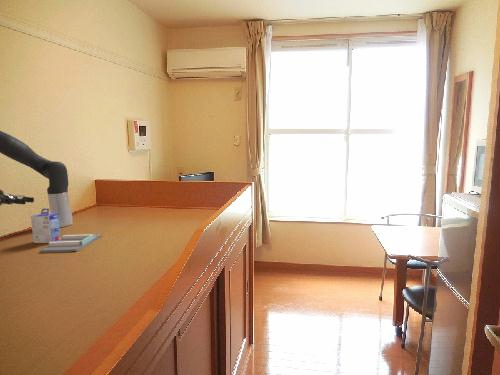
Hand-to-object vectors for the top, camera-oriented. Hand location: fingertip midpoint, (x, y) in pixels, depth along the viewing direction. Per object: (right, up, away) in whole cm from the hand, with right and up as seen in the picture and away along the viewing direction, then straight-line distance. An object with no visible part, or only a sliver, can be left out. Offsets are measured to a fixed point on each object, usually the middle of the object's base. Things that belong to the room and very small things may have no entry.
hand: (29, 201), depth 153 cm
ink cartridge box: (+8, -18, +1) cm, 20 cm away
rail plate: (+22, -18, -5) cm, 29 cm away
